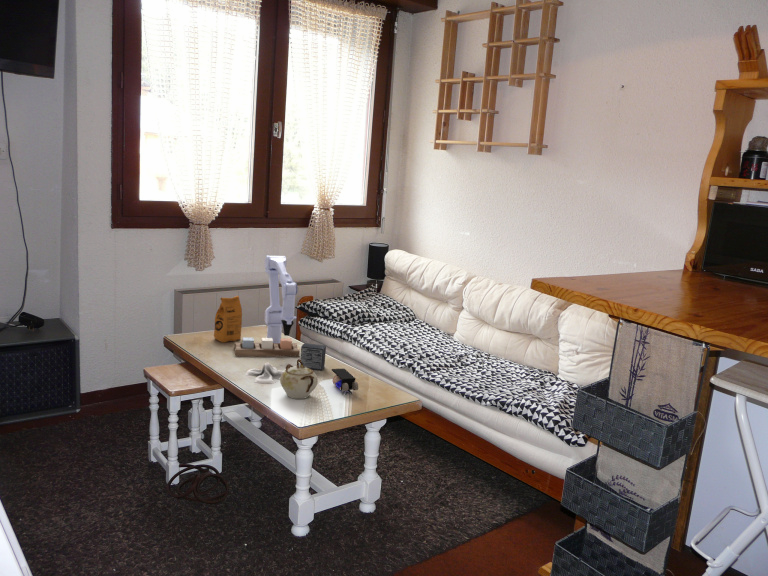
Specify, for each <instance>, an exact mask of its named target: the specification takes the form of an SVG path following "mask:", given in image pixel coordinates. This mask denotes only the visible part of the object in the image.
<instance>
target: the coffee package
mask: <svg viewBox="0 0 768 576" xmlns="http://www.w3.org/2000/svg"><path fill="white" fill-rule="evenodd" d="M220 301H221V302H220V305H219V307H218V309H217V311H216V314H215V317H214V329H213V330H214V332H213V338H214V339H215V340H217V341H218V342H220V343H227V342H237V341H240V340H241V338H242V325H243V322H242V321H243V318H242V317H243V309H242V305H241V300H240V296H239V295H235V296H233V297H220Z"/></svg>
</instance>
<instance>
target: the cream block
mask: <svg viewBox="0 0 768 576" xmlns="http://www.w3.org/2000/svg"><path fill="white" fill-rule="evenodd" d="M260 343H261V347H262V349H273V339H272V338H267V337H261V341H260Z"/></svg>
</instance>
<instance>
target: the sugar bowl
mask: <svg viewBox="0 0 768 576" xmlns="http://www.w3.org/2000/svg"><path fill="white" fill-rule="evenodd" d="M300 364H301V366H300ZM283 371H284V372H283V373H282V375H281V377H280V380H279V382H280V386H281V387H282V389H283V391H284V392H285V393H286V395H287V396H288V397H289V398H291V399H297V400H299V399H306V398H308V397H309V396H310V395H311V393H312V392H313V391H314V390H315V389H316V388H317V385H318V382H319V381H318V380H319V379H318V375H316V373H315V372H314V370H311V369H309V368H307V367H304V366H303V363H302V362H301V358H297V360H296V365H295V366H293V365H292V364H290V363H288V364H287V365H286V367H285V370H283Z"/></svg>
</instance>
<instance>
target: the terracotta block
mask: <svg viewBox="0 0 768 576" xmlns="http://www.w3.org/2000/svg"><path fill="white" fill-rule="evenodd" d="M292 343H293V341H292V338H287V337H284V338H283V337H281V338H280V348H281V349H291V348H292Z"/></svg>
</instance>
